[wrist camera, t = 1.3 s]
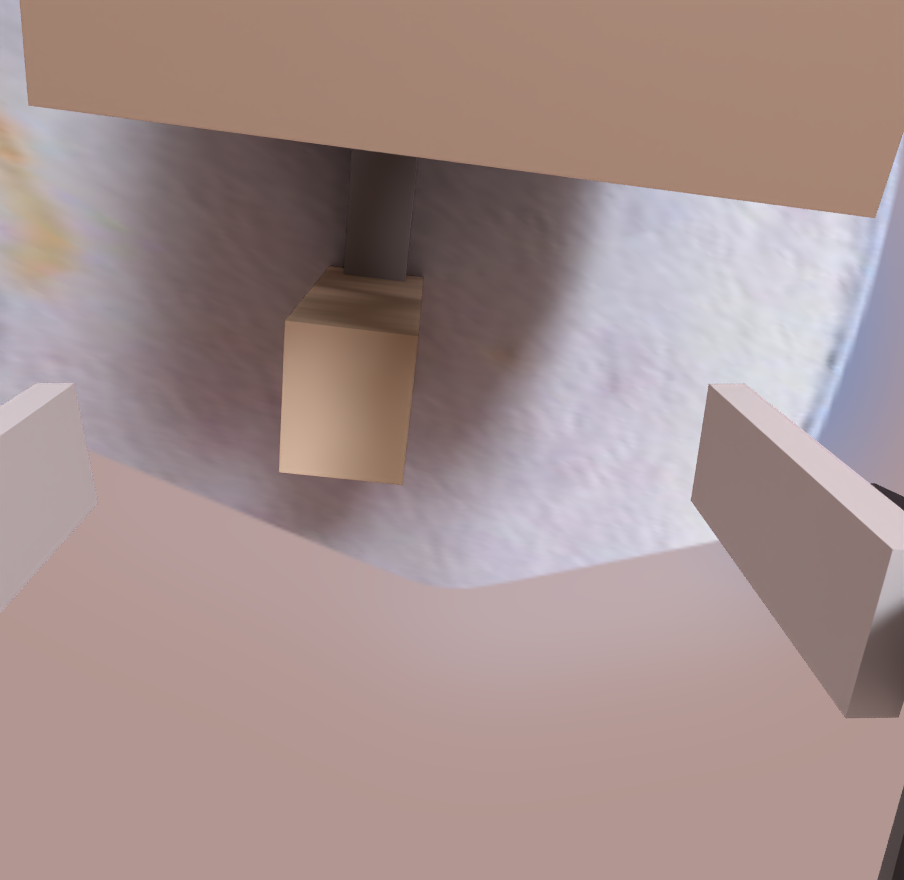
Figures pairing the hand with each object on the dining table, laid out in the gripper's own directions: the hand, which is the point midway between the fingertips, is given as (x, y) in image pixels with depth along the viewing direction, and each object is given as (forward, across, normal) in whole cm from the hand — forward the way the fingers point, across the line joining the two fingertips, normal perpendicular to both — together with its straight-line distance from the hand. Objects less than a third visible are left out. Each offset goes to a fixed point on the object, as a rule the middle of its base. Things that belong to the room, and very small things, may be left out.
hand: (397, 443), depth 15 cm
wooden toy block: (+17, -1, +6) cm, 18 cm away
